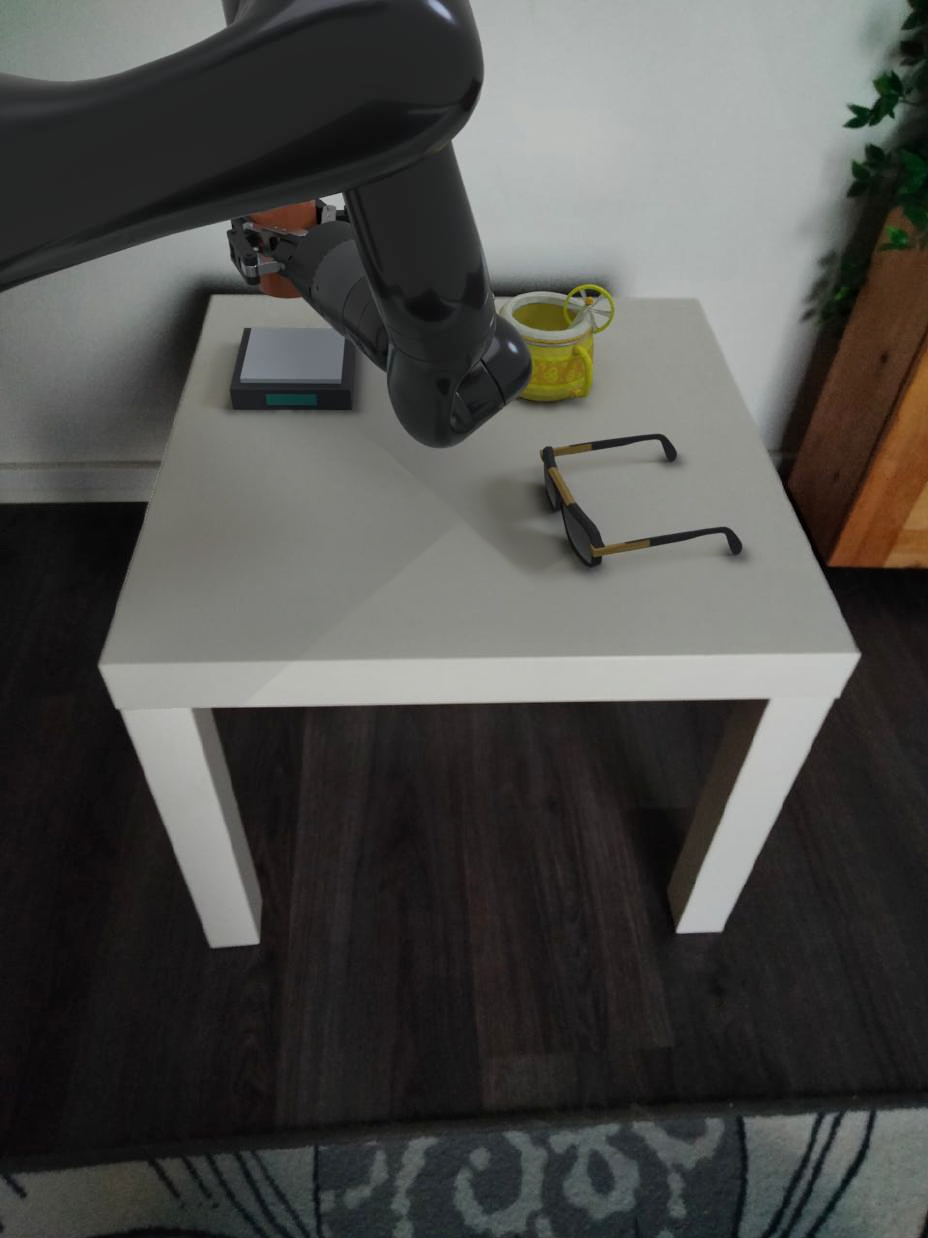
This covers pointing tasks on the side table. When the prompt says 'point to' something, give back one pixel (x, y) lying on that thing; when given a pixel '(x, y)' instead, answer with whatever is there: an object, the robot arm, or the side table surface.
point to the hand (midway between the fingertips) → (272, 211)
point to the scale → (293, 369)
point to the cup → (287, 217)
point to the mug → (558, 340)
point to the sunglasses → (584, 530)
